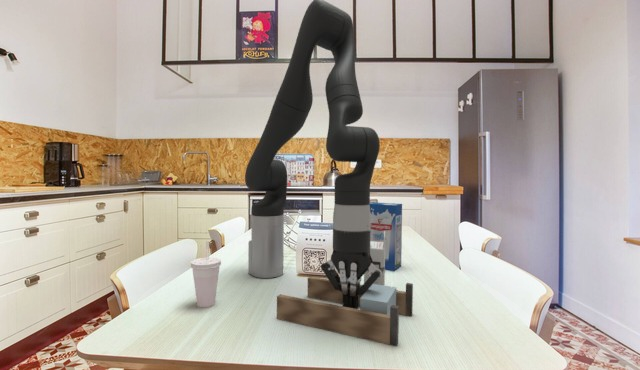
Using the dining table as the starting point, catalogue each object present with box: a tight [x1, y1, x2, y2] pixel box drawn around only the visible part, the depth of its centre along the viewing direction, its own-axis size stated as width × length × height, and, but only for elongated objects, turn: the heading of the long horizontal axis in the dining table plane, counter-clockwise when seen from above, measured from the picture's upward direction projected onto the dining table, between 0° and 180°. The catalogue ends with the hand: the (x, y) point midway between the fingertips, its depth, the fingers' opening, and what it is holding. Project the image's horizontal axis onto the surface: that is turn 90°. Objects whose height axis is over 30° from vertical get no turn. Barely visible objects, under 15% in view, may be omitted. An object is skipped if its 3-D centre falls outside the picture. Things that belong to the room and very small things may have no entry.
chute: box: [276, 276, 414, 347], centre depth 68 cm, size 24×14×6 cm, turn 64°
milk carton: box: [369, 201, 403, 272], centre depth 105 cm, size 10×6×20 cm, turn 58°
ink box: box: [363, 231, 386, 286], centre depth 82 cm, size 9×5×15 cm, turn 168°
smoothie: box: [190, 240, 222, 308], centre depth 73 cm, size 6×6×14 cm
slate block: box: [359, 284, 397, 315], centre depth 65 cm, size 5×9×6 cm, turn 157°
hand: (350, 312), depth 67 cm, fingers closed
